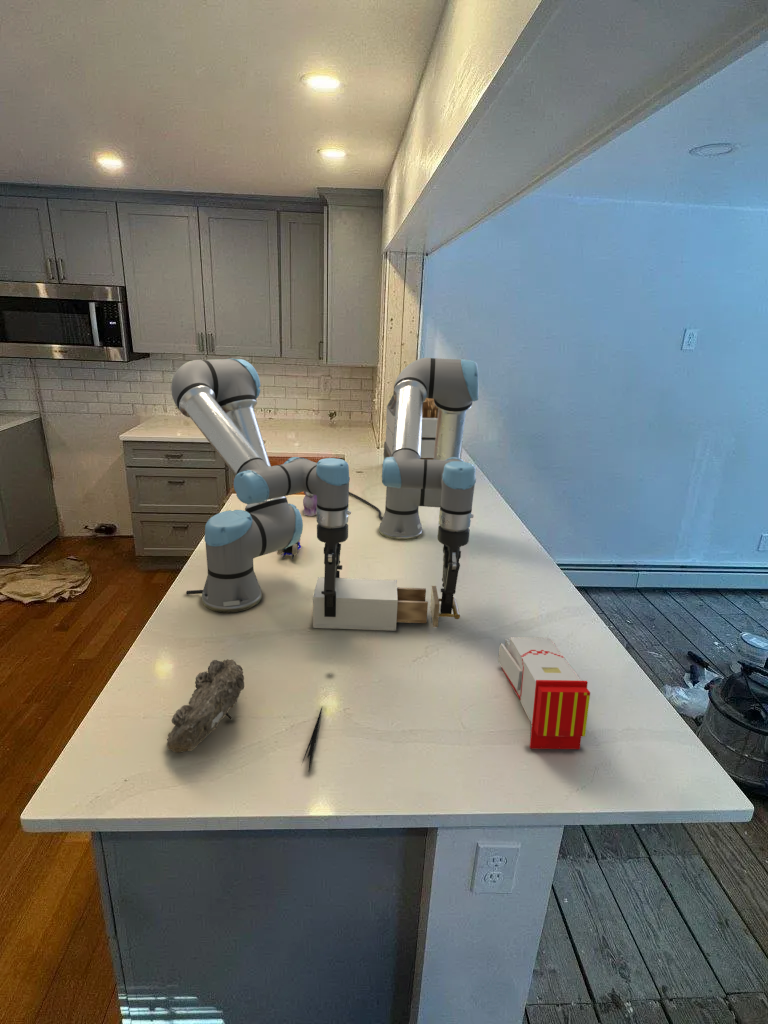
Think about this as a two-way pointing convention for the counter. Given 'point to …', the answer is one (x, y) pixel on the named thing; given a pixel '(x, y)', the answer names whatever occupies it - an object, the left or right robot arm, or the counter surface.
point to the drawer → (420, 606)
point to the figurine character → (290, 550)
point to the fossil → (206, 705)
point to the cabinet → (358, 604)
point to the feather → (313, 740)
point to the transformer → (427, 428)
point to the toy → (546, 691)
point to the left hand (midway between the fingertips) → (332, 604)
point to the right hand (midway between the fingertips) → (445, 612)
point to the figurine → (310, 504)
